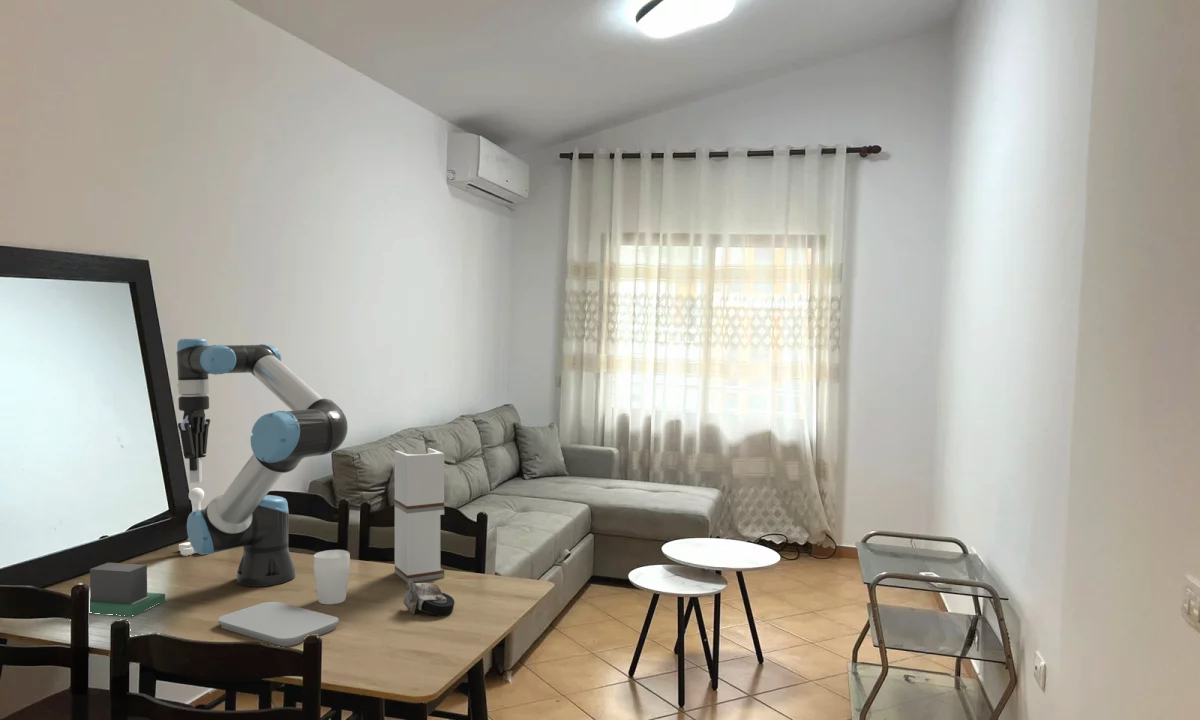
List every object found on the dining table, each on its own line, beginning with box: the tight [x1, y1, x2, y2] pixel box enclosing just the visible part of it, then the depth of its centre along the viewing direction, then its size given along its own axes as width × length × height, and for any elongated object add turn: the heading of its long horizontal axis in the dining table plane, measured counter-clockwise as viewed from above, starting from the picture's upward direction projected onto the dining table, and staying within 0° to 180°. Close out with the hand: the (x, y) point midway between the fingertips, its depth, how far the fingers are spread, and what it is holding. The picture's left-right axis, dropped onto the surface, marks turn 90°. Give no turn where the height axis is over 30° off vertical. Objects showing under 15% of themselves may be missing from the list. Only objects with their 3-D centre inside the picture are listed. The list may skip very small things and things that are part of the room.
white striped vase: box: [394, 447, 445, 584], centre depth 242 cm, size 11×11×35 cm
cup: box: [312, 549, 351, 605], centre depth 219 cm, size 9×9×12 cm
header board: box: [90, 591, 166, 617], centre depth 213 cm, size 16×12×6 cm
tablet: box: [217, 601, 339, 647], centre depth 200 cm, size 16×26×2 cm, turn 59°
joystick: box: [178, 487, 205, 557], centre depth 264 cm, size 11×8×20 cm
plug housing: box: [89, 562, 148, 604], centre depth 213 cm, size 11×6×8 cm, turn 80°
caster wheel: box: [402, 579, 455, 617], centre depth 212 cm, size 7×11×10 cm
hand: (196, 481), depth 233 cm, fingers closed
